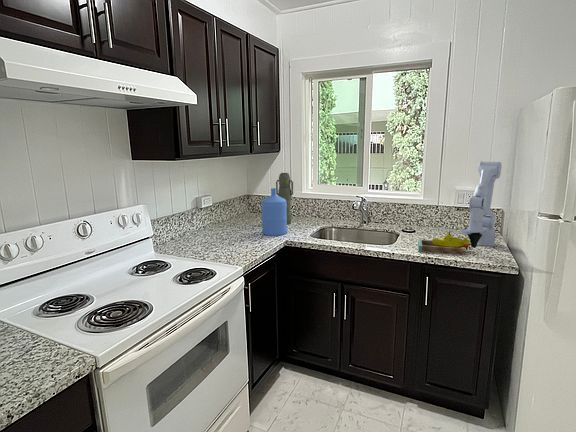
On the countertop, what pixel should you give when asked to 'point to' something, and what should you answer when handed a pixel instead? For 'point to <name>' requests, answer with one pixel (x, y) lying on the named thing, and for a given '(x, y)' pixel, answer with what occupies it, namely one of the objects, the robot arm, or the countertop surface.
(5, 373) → the countertop surface
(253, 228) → the countertop surface
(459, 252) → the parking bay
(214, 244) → the countertop surface
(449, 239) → the yellow piece
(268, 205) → the water jug
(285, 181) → the thermos
